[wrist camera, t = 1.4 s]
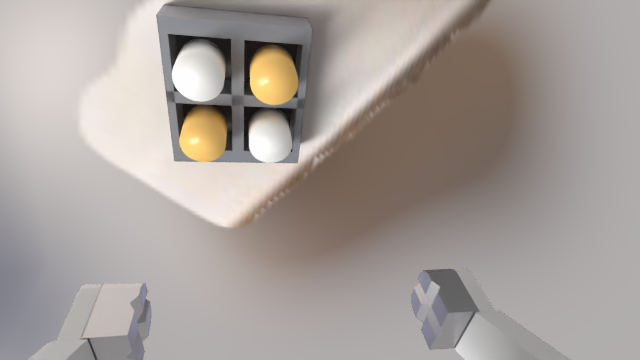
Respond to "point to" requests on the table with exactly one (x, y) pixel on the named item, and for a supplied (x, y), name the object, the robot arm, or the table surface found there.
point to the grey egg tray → (233, 70)
